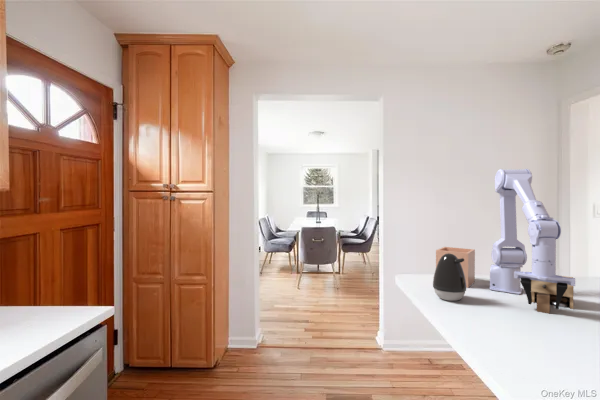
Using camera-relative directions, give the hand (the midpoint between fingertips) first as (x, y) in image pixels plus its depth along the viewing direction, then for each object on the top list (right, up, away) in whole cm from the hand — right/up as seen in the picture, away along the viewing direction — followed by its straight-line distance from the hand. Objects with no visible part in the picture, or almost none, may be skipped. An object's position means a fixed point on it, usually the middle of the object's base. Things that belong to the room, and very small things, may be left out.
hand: (543, 305), depth 98 cm
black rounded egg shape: (-23, -2, +12) cm, 26 cm away
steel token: (+9, -2, +5) cm, 11 cm away
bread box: (+9, -2, +9) cm, 13 cm away
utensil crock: (-11, -1, +33) cm, 35 cm away
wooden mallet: (+6, -2, +4) cm, 7 cm away
